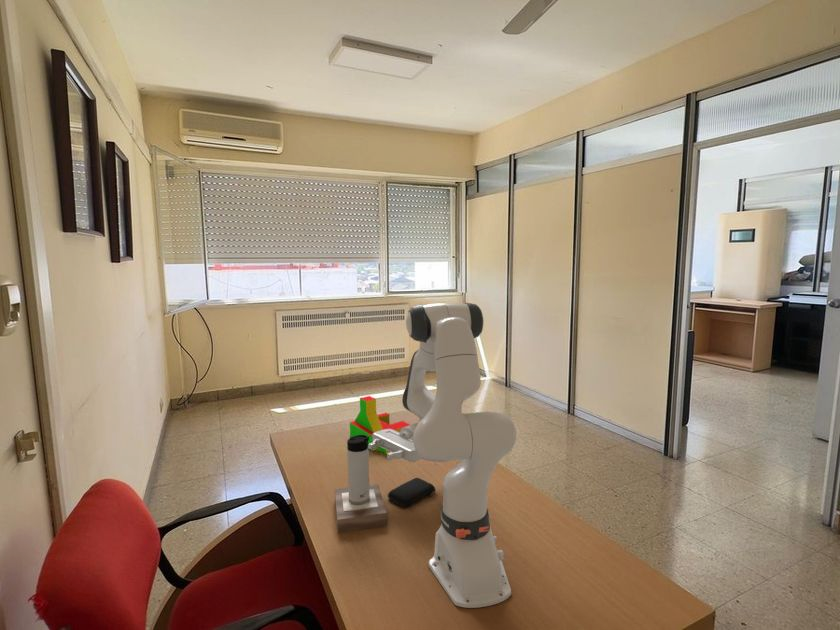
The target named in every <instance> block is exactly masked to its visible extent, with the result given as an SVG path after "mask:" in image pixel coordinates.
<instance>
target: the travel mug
mask: <svg viewBox="0 0 840 630" xmlns="http://www.w3.org/2000/svg"><path fill="white" fill-rule="evenodd" d="M368 440H369V437H367V436H366V435H357V436H353V437H351V436H350V438H348V439H347V442H346V444H347V447H346V448H347V481H348V486H347V487H348V488H349V502H350V503H351V504H354V505H362V504H365V503H367V502H368V501H369V499H370V495H369V485H370V467H369V466H370V464H369V462H370V461H369V460H370V459H369V448H368Z"/></svg>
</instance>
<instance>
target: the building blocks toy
mask: <svg viewBox="0 0 840 630" xmlns="http://www.w3.org/2000/svg"><path fill="white" fill-rule="evenodd" d="M376 401H377V399H376V398H374V397H372V396H370V395H367V396H364V397H363V396H362V397H360V398H359V413H358V414H357V416H356V418H355V420H353V421H350V422H349V436H350V438H351V437H353V436H357V435H366V436H367V437H369V440H368V445H369V443H372V442H373V439H372V435H373V433H374V432H377V431H380V430H384V429H393V430H395V431H397V432H399V433H400V431H401V429H402V428H404V427H406V426H409V425H411V424H409V423H407V422H406V421H403V420H401V421H398V422H394V423H391V424H390V413H388V412H383V413H380V414H379V413H377V402H376ZM377 449H379V450H380V451H379V450H377ZM374 450H376V451H379V452H381V451H382V452H381V453H383V452H384V453H385V454H384V453H383V454H384V455H386V454H388V453H390V451H388V450H386V449H384V448H382V447H380V446H376V449H373V451H372V452H375V451H374Z"/></svg>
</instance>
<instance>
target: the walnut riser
mask: <svg viewBox="0 0 840 630" xmlns="http://www.w3.org/2000/svg"><path fill="white" fill-rule="evenodd" d="M369 495H370V499H369V501H368V502H367V503H365V504H362V505H354V504H351V503H350V502H349V488H348V486H347V487H340V488H339V487H338V488H335V489H334V502H335V513H336V524H337V525H336V527H337V533H338V534H339V533H345V532H353V531H358V530H366V529H367V530H368V529H372V528H373V529H374V528H380V527H386V526H388V521H387V520H388V519H387V517H388V516H387V510H386V509H387V508H386V506H385V503H384V499H383V495H382V492H381V488H380V485H379V483H372V484H370V483H369Z"/></svg>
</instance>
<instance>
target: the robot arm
mask: <svg viewBox="0 0 840 630" xmlns="http://www.w3.org/2000/svg"><path fill="white" fill-rule="evenodd" d="M405 319H406V320H405V326H406V329H407V333H408V334H409V335H408V336H409V337H410V338H411V339H412V340H413V341H416V342H419V347H418V349H417V350H415V351H414V353H413V354H412V356H411V357H412V358H411V361H410V363H409V370H408V376H407V379H406V380H407V381H406V386H405V388H404V391H403V394H402V405H403V406H402V407H403V408H404V409H406V410H407V411H409V412H410V413H412V414H414V415H415V416H416V417H418V418H419V421H418V422H416V423H412V424H410V425H409V426H406V427H404V428H402V429H401V431H400V433H399V432H397V431H395V430H393V429H384V430H380V431H377V432H374V433H373V435H372V439H373V442H372V443H369V445H368V450H370V449H371V451H372V450H373V449H376V446H380V447H382V448H384V449H386V450H388V451H390V453H388V454H387V455H386V458H387V459H388V460H390V461H393V460H394V459H395V460H397V459H403V460H406V461H407V462H410V463H415V462H418V461H420V460H423V461H428V462H436V463H437V462H438V463H443V462H444V463H446V462H455V461H460V463H458V464H457V465H456V466H454V467H453V468H452V469H450V470H449V471H448V472H447V474H446V475H445V477H444V479H443V481H442V505H441V510H440V523H441V525H440V526H439V529H438V530H436V533H435V536H434V537H435V538H434V541H435V542H434V555H433V557H432V558H430V559H429V561H428V568H429V569H430V571H431V572H432V574H433V575H434V576H435V578H436V580H438V582H439V584H440V585H441V587H442V588H443V589H444V592H446V595H447V596H448V597H449V598H450V600H451V601H452V603H453V604H454V605H455V606H457V607H460V608H466V609H467V608H468V609H473V608H474V609H477V608H483V607H490V606H493V605H496V604H500V603H502V602H504V601H506V600H507V599H509V598H510V596H511V595H512V588H511V585H510V582H509V579H508V576H507V572H506V570H505V567H504V564H503V561H504V560H505V554H504V551H503V550H502V549H498V548H497V547H496V543H497V542H498V541H497V540H498V538H497V535H493V531H492V525H491V523H490V522H491V521H490V514H489V509H488V506H487V505H488V494H489V493H488V491H489V484H490V480H491V477H492V475H493V473H494V470H495V469H496V467H497V466H498V464H499V462H501V460H502V459H504V457H505V456H506V455H507V454H508V453H510V452H511V451H512V450H513V448H514V446H515V445H516V442H517V429H516V425H515V424H514V422H513V420H512V419H511V417H509V415H507V414H506V413H504V412H503V413H501V412H495V411H480V412H469V413H463V412H462V410H463V408H462V407H463V404H464V402H465V401H467V400H468V399H470V398H471V397H473V396H474V395H475V394H477V393H478V391H479V390H480V388H481V385H482V380H481V373H480V365H479V357H478V350H477V346H476V341H475V338H478V337H480V335H481V334H482V332H483V330H484V315H483V311H482V309H481V308H480V307H479V306H478V305H477V304H476V303H470V302H465V303H460V302H435V303H427V304H422V303H421V304H417V305H414V306H411V307H410V308H409V310H408V312H407V316H406V318H405ZM427 372H435V373H436V374H435V376H436V392H435V393H434V392H432V391H430V390H429V389H428V387H426V385H425V378H426V373H427Z"/></svg>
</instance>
